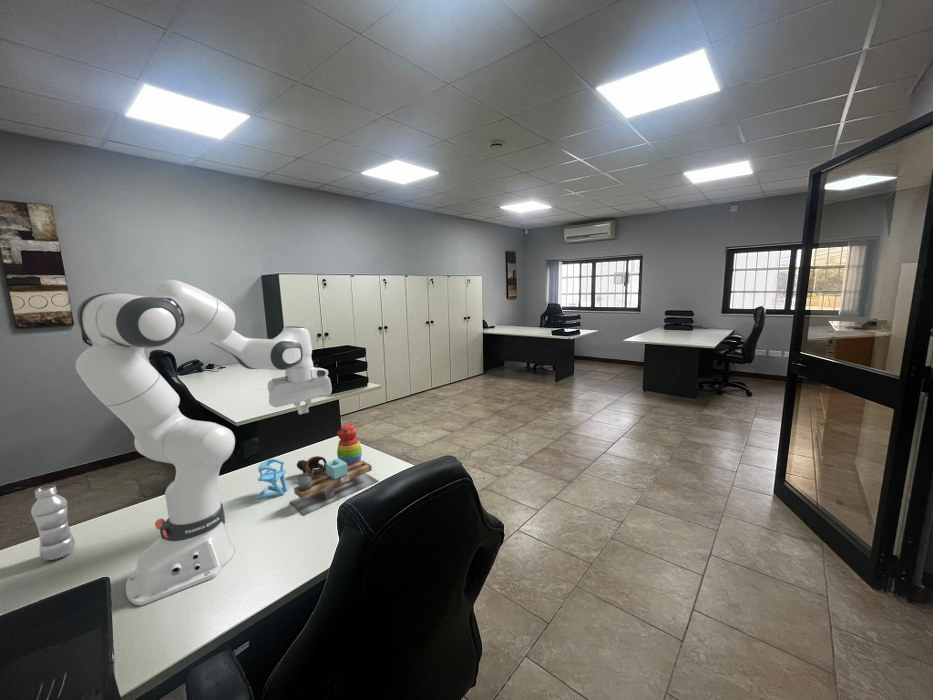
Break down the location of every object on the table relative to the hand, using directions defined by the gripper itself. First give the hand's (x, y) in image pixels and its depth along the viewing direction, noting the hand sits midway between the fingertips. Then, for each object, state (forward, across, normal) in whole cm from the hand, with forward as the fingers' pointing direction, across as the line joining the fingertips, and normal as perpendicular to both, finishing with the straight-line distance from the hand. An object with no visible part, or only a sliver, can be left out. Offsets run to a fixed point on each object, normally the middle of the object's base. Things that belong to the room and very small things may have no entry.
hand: (303, 413), depth 129 cm
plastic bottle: (+29, -61, +20) cm, 71 cm away
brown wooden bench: (+29, +6, -7) cm, 31 cm away
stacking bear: (+29, +19, +6) cm, 35 cm away
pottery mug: (+29, +6, +11) cm, 32 cm away
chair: (+29, -9, +9) cm, 32 cm away
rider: (+25, +7, -7) cm, 27 cm away
